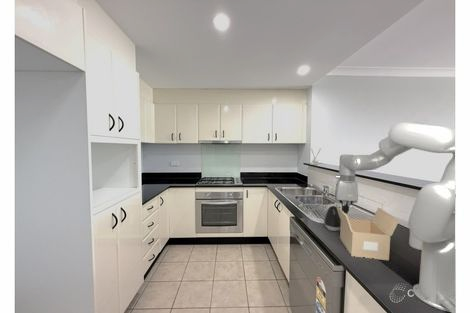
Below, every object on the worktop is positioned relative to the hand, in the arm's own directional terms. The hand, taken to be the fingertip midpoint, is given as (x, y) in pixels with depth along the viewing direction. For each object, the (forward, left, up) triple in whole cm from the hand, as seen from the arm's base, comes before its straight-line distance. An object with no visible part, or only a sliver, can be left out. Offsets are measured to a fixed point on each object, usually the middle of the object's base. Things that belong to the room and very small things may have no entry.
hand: (345, 212), depth 110 cm
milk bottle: (+8, -39, -18) cm, 44 cm away
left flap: (0, +1, -2) cm, 2 cm away
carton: (0, -9, -18) cm, 20 cm away
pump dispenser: (+22, 0, -18) cm, 29 cm away
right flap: (0, -18, -2) cm, 18 cm away
